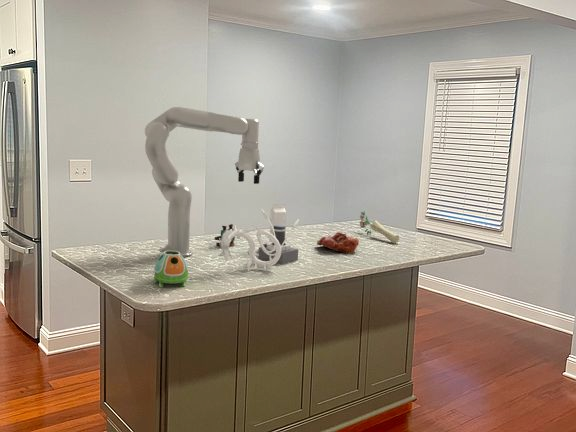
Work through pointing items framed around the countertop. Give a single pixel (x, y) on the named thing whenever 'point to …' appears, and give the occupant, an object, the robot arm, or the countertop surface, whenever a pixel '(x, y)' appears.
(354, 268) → the countertop surface
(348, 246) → the meat
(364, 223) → the flower vase
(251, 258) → the serpentine dragon sculpture
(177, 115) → the robot arm
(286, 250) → the low charcoal box
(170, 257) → the turtle holder
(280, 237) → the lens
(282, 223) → the milk
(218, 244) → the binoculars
